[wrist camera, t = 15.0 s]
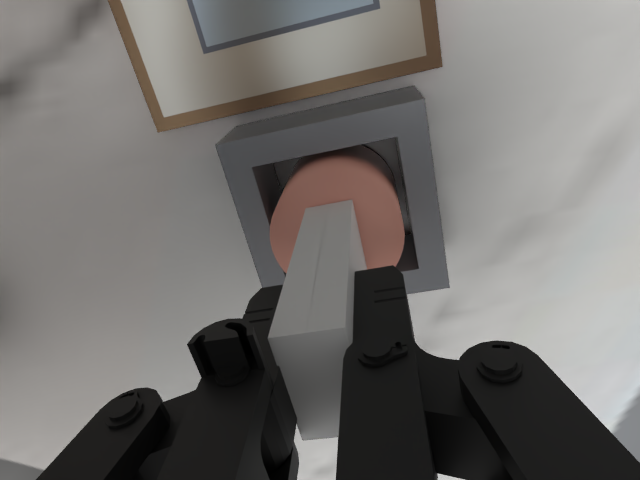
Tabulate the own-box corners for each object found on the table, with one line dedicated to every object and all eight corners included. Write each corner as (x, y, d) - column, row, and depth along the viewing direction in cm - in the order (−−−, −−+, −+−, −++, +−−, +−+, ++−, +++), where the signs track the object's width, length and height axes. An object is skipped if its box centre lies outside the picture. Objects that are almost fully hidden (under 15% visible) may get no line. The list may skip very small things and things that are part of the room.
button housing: (282, 276, 21) (271, 314, 18) (236, 126, 18) (215, 144, 16) (437, 250, 20) (449, 287, 17) (414, 85, 17) (424, 98, 14)
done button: (301, 252, 20) (288, 304, 16) (274, 154, 18) (253, 188, 15) (404, 234, 19) (413, 285, 16) (385, 130, 17) (392, 160, 14)
